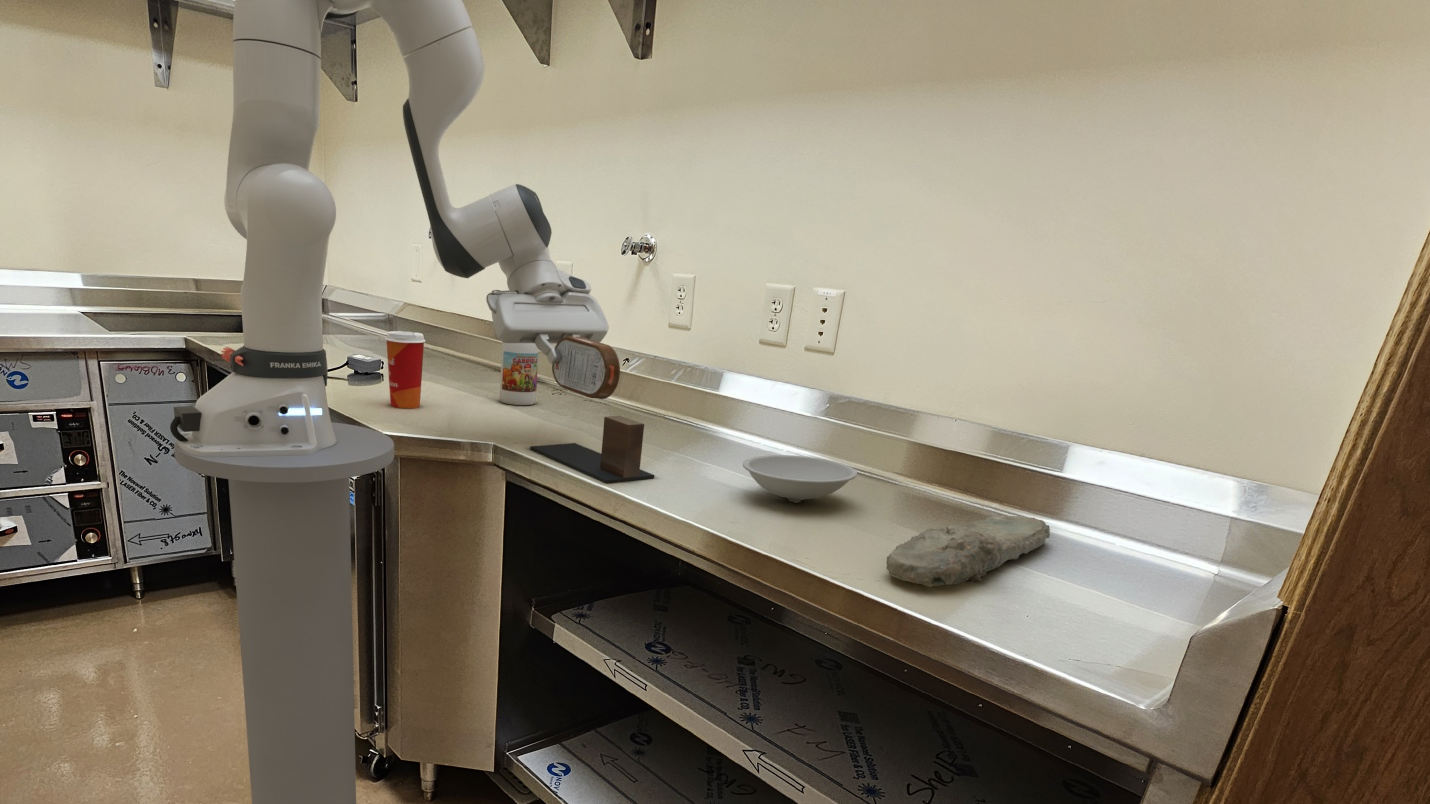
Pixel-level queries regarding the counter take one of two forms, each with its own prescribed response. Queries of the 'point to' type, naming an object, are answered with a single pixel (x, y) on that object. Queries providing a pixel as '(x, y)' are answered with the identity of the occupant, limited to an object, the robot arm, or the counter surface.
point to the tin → (587, 367)
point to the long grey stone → (965, 550)
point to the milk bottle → (518, 373)
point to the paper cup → (405, 368)
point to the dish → (798, 475)
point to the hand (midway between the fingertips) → (566, 361)
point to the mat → (583, 461)
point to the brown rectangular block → (622, 446)
